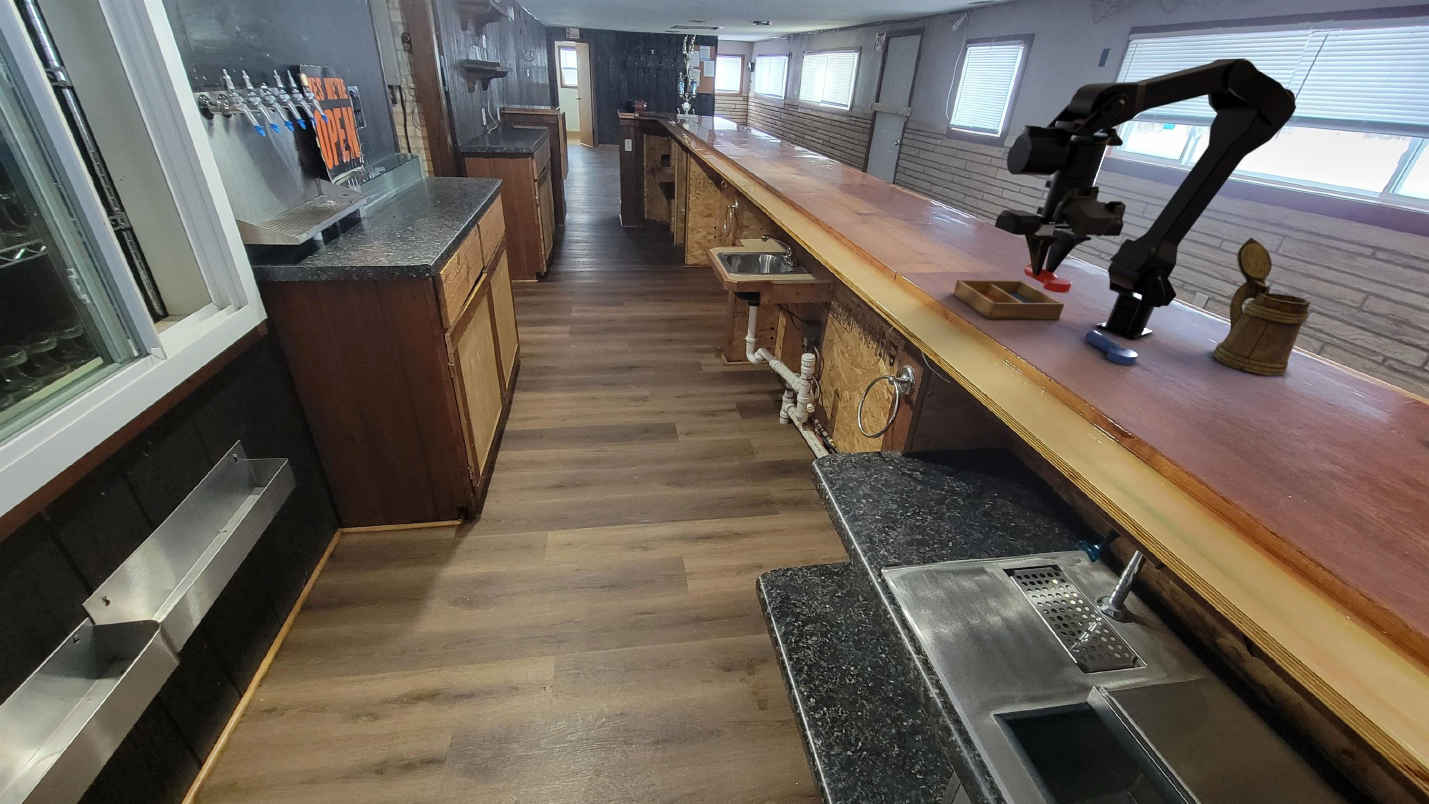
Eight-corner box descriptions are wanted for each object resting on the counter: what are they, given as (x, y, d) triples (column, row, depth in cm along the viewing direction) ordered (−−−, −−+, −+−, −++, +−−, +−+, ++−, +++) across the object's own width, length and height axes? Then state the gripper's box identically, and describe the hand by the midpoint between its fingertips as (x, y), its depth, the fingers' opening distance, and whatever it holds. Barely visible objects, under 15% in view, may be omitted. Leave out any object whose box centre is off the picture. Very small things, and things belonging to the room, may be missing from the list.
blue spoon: (1075, 339, 97) (1079, 328, 96) (1096, 339, 97) (1100, 328, 96) (1117, 365, 88) (1122, 353, 87) (1139, 365, 89) (1145, 353, 88)
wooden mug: (1218, 340, 99) (1272, 237, 90) (1299, 375, 88) (1370, 260, 79) (1175, 341, 98) (1226, 237, 89) (1252, 377, 86) (1319, 261, 77)
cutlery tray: (953, 294, 116) (957, 280, 114) (1017, 294, 117) (1021, 280, 116) (988, 319, 104) (993, 303, 102) (1059, 319, 105) (1064, 304, 104)
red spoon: (1015, 274, 99) (1019, 262, 98) (1035, 274, 99) (1039, 262, 98) (1052, 293, 90) (1056, 280, 89) (1074, 292, 90) (1078, 280, 89)
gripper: (1052, 184, 79) (1018, 291, 87) (1170, 186, 81) (1127, 290, 89) (1007, 172, 89) (980, 269, 96) (1114, 175, 91) (1079, 270, 99)
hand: (1041, 275), depth 95 cm, fingers closed on red spoon, 2 cm apart
